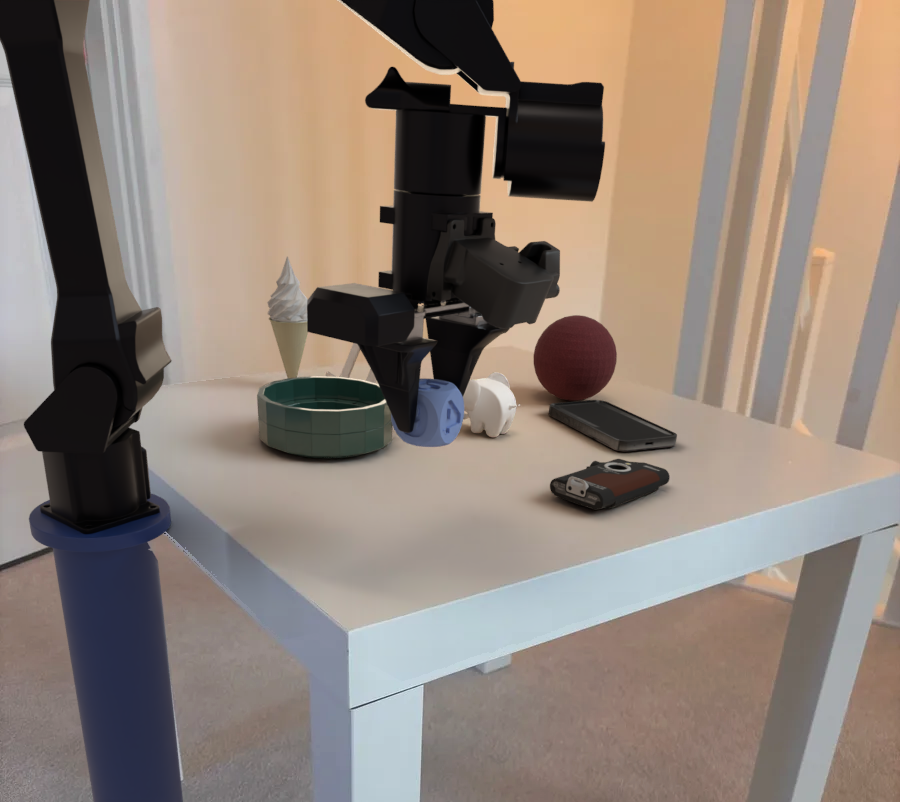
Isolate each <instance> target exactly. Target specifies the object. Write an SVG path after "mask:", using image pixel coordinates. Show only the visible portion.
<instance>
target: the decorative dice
mask: <svg viewBox="0 0 900 802" xmlns="http://www.w3.org/2000/svg"><path fill="white" fill-rule="evenodd" d="M464 413H465V410H464V400H463V396H462V394H461V392H460V391H459V389H458V388H457V387H456V386H455V385H454V384H453V383H451V382H448V381H444V380H438V379H434V378H426V377H425V378H424V377H423V378H420V380H419V390H418V400H417V411H416V417H415V422H414V428H413V431H412V432H410V433H405V432H402V431H400V430H399V429H398V428H397V425H396V423H395V421H394V419H393V416H392V414H391V421H392V425H393V430H394V432H395V433H396V435H397V436H398V437H399V439H401V441H402V442H404V443H406V444H408V445H411V446H415V447H421V448H422V447H423V448H437V447H440V448H441V447H445V446H448V445H450V444H451V443H453V442H454V441H455V440H456V439H457V437H458V435H459V433H460V431H461V428H462V425H463V422H464V419H463V417H464Z"/></svg>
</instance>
